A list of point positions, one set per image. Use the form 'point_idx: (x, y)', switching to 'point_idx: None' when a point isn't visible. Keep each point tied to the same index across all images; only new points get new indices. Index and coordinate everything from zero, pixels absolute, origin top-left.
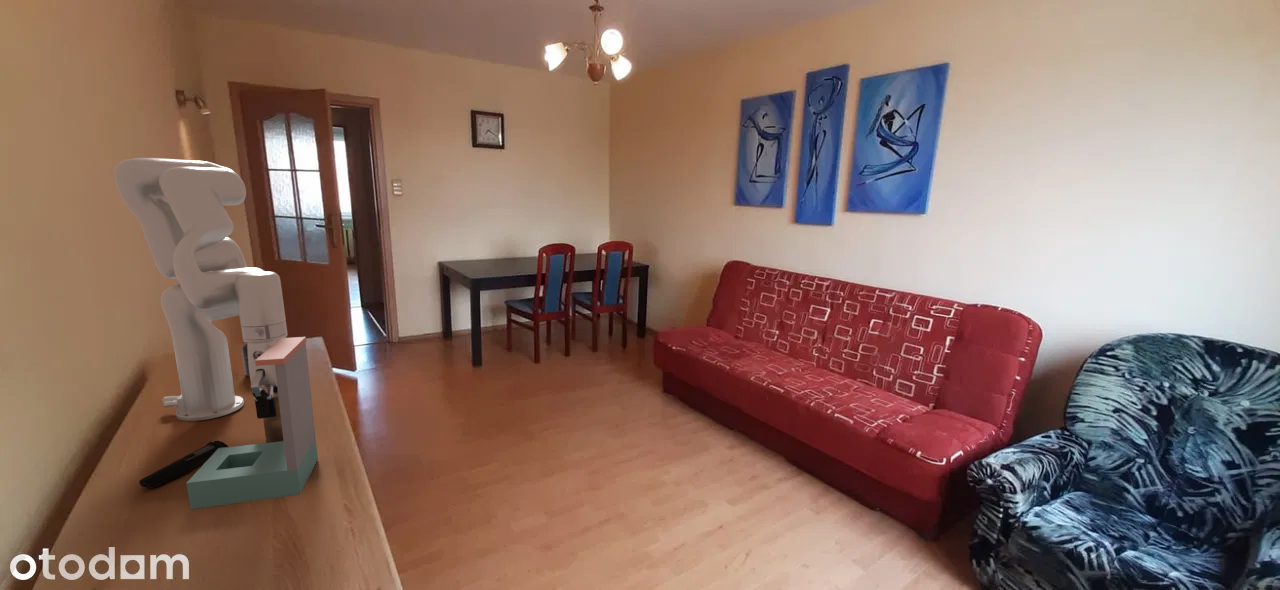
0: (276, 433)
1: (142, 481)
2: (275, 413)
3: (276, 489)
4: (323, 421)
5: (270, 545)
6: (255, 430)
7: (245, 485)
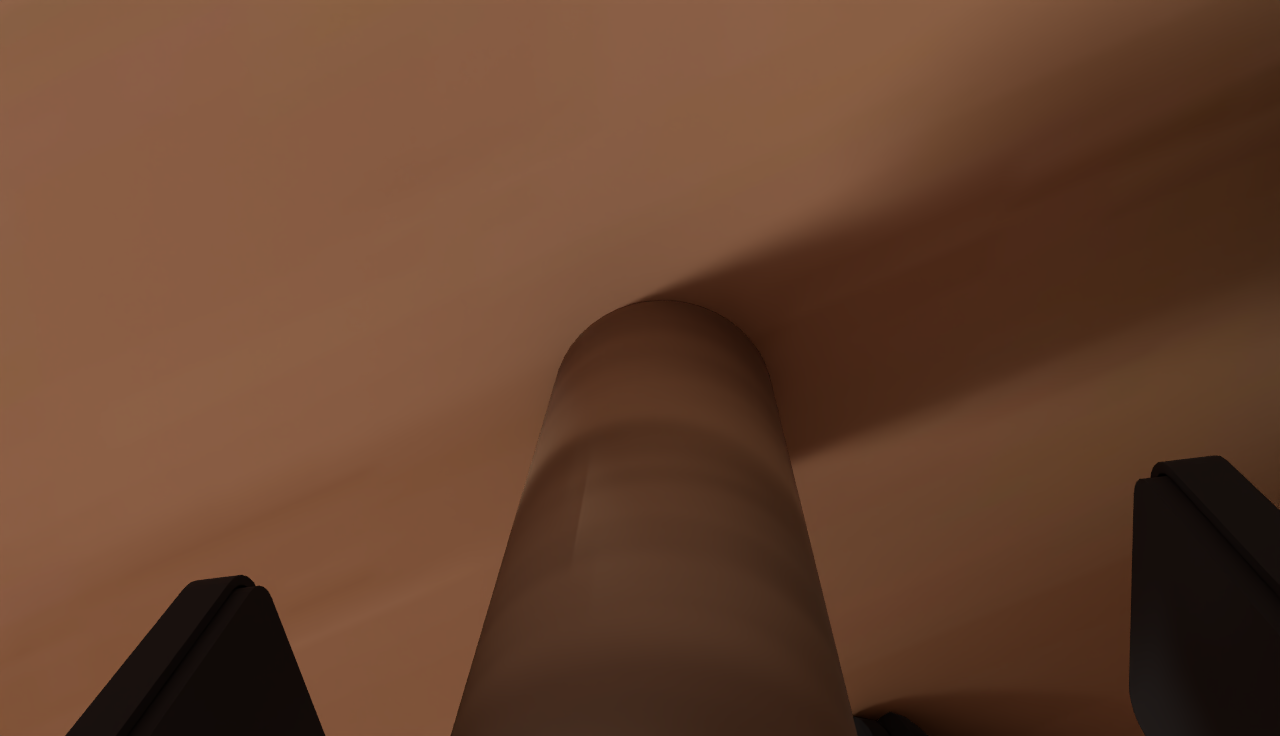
0: (775, 409)
1: None
2: (1240, 480)
3: None
4: (172, 67)
5: None
6: (441, 695)
7: None
